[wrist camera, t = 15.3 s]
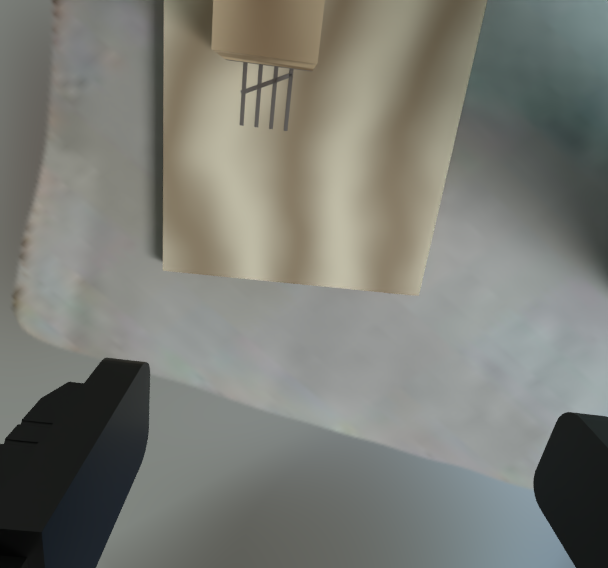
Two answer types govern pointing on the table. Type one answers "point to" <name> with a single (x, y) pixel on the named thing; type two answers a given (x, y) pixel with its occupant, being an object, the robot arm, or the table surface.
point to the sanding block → (268, 32)
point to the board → (315, 146)
